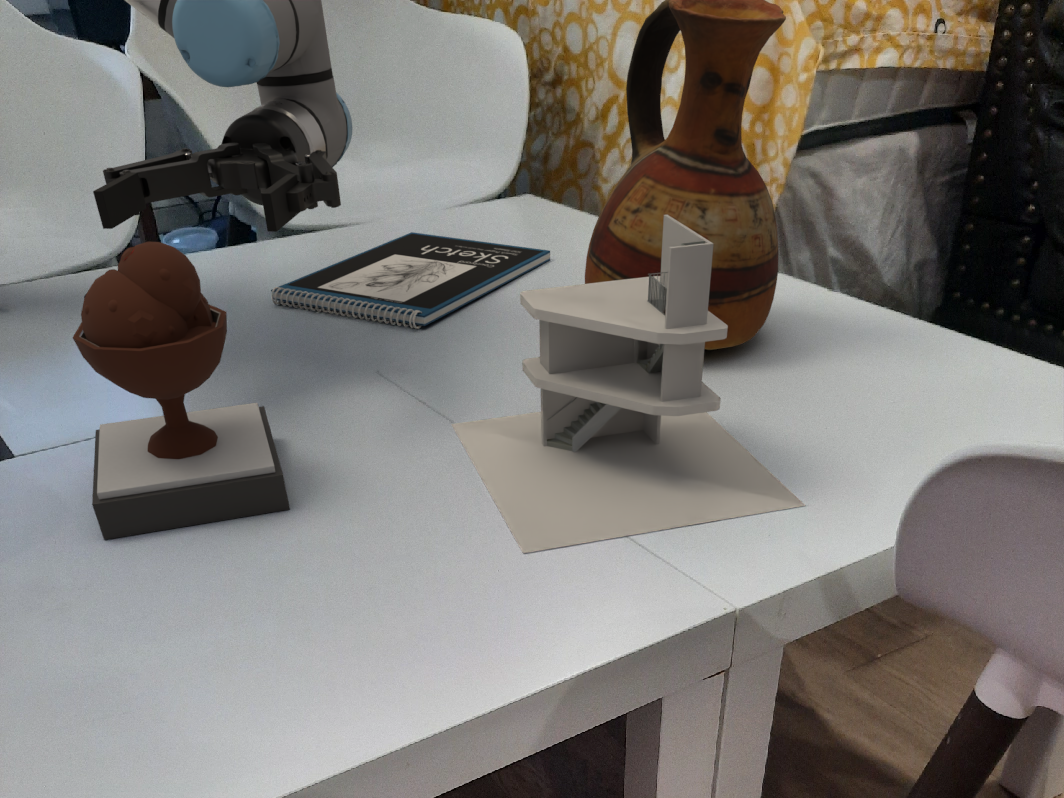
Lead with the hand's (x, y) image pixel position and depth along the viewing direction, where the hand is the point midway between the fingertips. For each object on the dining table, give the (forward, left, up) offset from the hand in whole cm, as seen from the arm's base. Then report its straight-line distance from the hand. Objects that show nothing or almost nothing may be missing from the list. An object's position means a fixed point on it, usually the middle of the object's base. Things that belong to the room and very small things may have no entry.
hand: (184, 211), depth 78 cm
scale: (+9, -4, -18) cm, 21 cm away
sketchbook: (-38, +25, -19) cm, 49 cm away
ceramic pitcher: (-9, +47, -19) cm, 51 cm away
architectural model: (+17, +30, -19) cm, 39 cm away
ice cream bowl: (+9, -4, -15) cm, 18 cm away
